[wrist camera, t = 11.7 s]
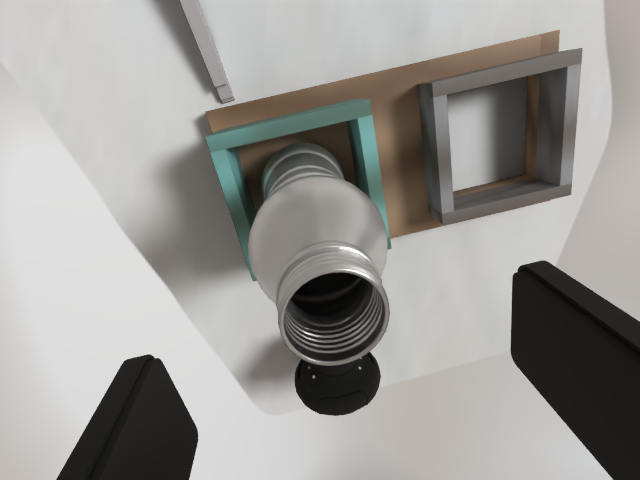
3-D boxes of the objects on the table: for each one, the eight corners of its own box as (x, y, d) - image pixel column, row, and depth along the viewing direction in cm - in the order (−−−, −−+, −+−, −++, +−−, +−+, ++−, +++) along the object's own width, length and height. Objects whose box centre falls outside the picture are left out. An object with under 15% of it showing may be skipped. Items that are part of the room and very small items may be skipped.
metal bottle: (260, 214, 30) (227, 400, 12) (265, 133, 28) (233, 209, 9) (333, 220, 31) (409, 402, 13) (344, 142, 29) (459, 228, 10)
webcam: (360, 297, 36) (387, 365, 27) (367, 353, 39) (393, 432, 30) (286, 310, 36) (288, 384, 27) (298, 366, 39) (304, 450, 30)
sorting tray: (209, 110, 28) (189, 115, 22) (546, 33, 28) (616, 16, 22) (257, 262, 34) (252, 299, 28) (539, 196, 34) (594, 217, 28)
